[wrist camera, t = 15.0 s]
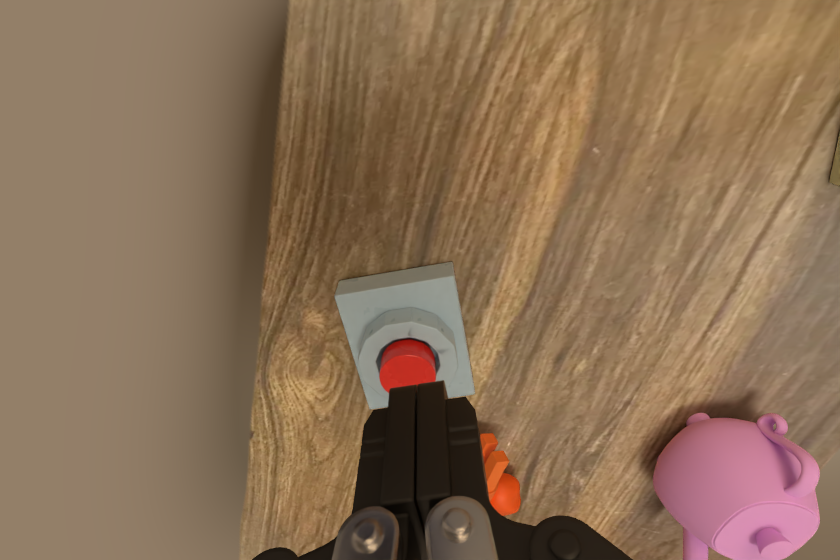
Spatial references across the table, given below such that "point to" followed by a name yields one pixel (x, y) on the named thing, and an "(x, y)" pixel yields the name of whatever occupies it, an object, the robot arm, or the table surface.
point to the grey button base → (406, 324)
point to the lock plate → (836, 166)
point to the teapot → (738, 488)
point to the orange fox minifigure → (499, 478)
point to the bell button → (407, 364)
